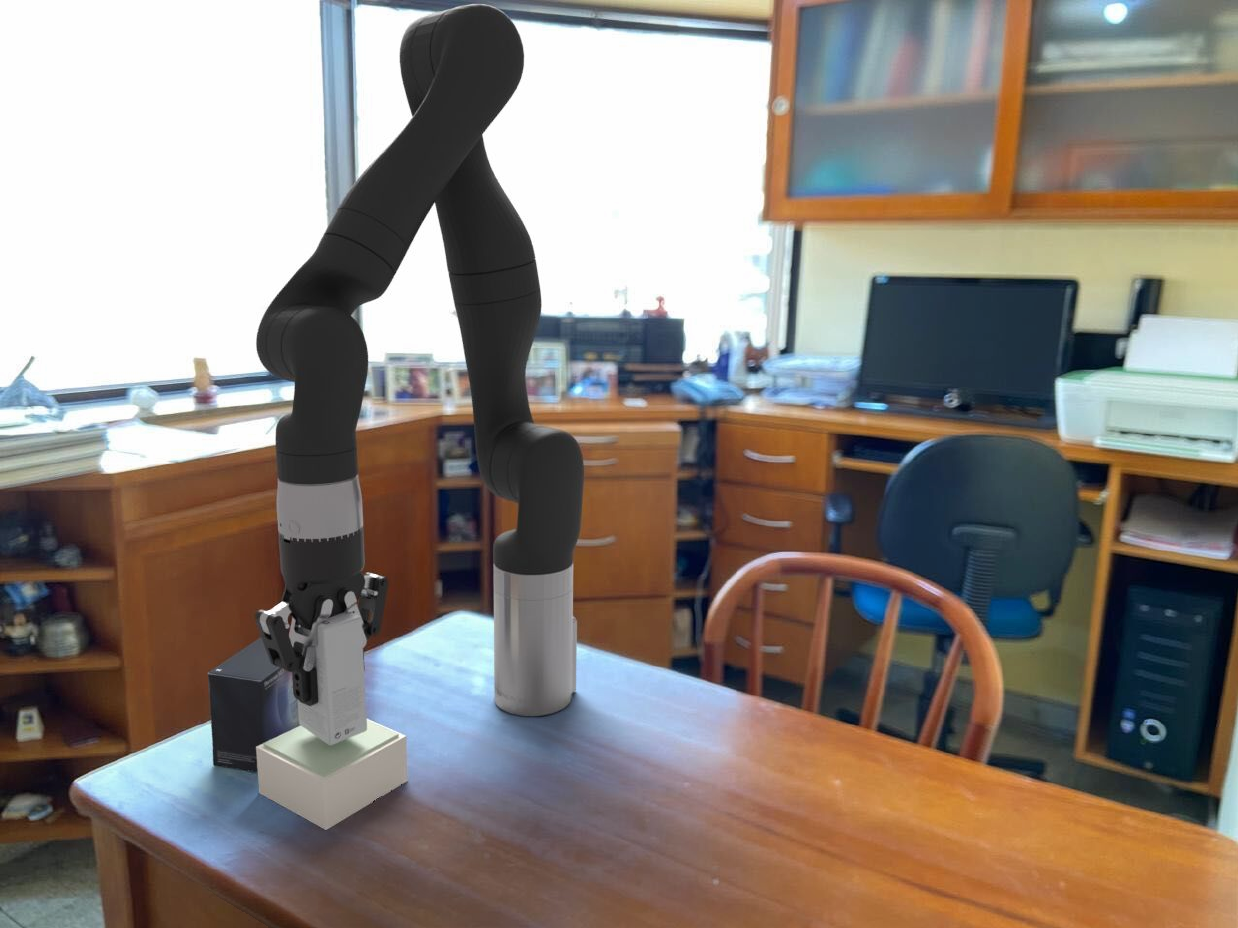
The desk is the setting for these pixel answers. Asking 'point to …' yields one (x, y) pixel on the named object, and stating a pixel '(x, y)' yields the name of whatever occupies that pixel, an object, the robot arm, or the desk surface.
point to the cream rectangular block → (331, 771)
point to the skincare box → (338, 681)
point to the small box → (249, 706)
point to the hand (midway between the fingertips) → (330, 691)
